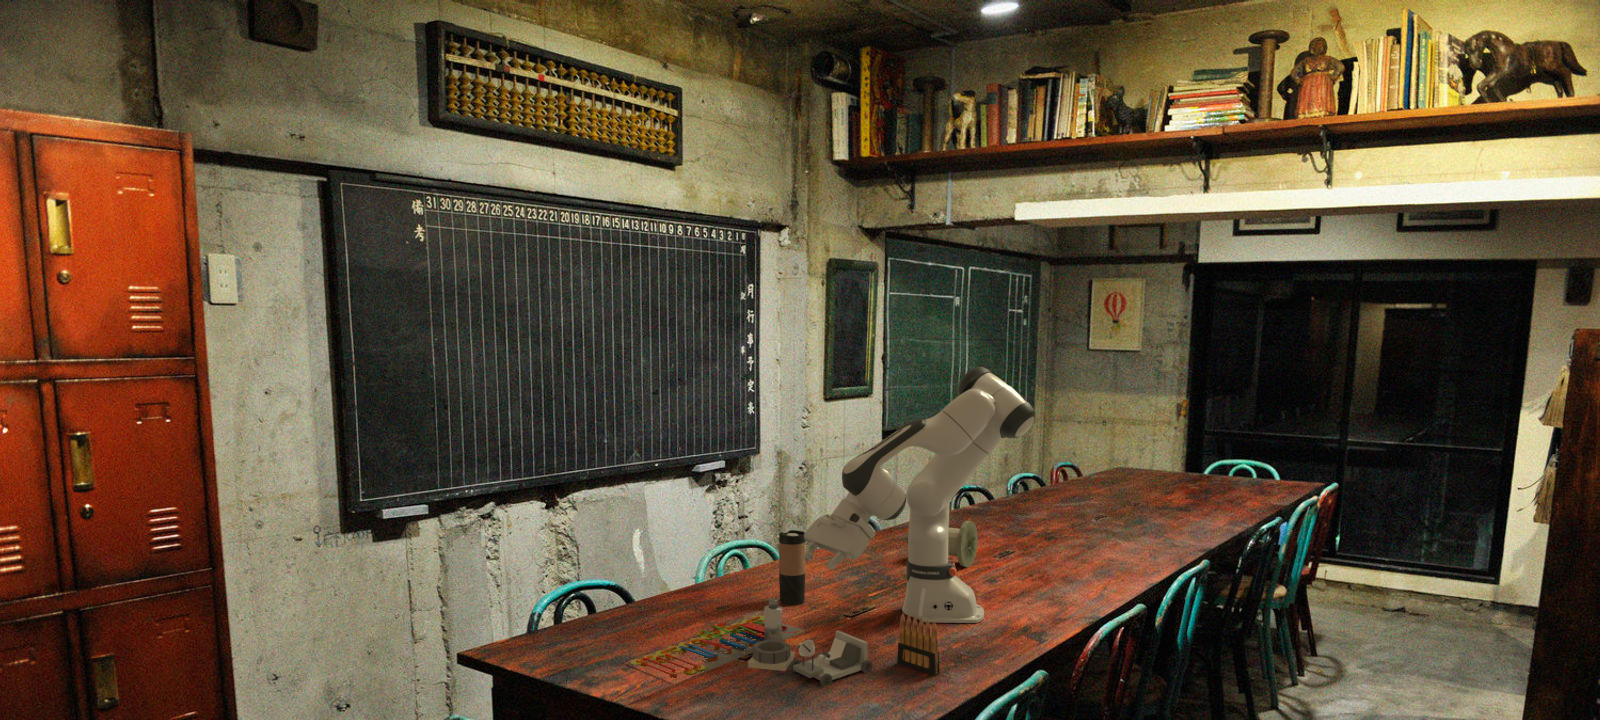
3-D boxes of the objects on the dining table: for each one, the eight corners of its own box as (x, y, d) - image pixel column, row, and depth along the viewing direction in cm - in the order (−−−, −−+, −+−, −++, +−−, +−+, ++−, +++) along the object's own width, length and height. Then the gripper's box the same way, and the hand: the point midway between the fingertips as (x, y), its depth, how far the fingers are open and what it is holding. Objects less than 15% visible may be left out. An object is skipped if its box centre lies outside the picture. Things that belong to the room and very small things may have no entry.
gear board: (753, 607, 232) (806, 623, 220) (753, 616, 233) (806, 633, 220) (620, 654, 198) (674, 676, 186) (620, 664, 199) (674, 687, 186)
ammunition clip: (896, 663, 198) (897, 613, 198) (901, 661, 199) (901, 611, 199) (935, 676, 191) (935, 623, 190) (939, 673, 192) (940, 621, 192)
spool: (977, 561, 288) (977, 517, 288) (961, 571, 275) (961, 526, 275) (932, 554, 297) (932, 512, 297) (914, 564, 284) (914, 520, 284)
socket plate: (794, 656, 202) (794, 641, 202) (785, 671, 193) (785, 655, 193) (758, 653, 204) (758, 638, 204) (747, 667, 195) (747, 651, 195)
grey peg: (784, 645, 210) (784, 597, 209) (779, 651, 205) (779, 602, 205) (767, 643, 211) (767, 596, 210) (762, 650, 206) (762, 601, 206)
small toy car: (813, 648, 182) (780, 633, 191) (812, 693, 183) (780, 676, 192) (873, 630, 194) (839, 617, 203) (872, 672, 194) (839, 657, 203)
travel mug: (802, 606, 239) (802, 536, 239) (776, 605, 241) (776, 535, 240) (807, 598, 247) (807, 530, 246) (782, 596, 248) (782, 529, 248)
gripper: (817, 505, 226) (787, 547, 220) (866, 520, 209) (834, 565, 204) (830, 520, 228) (800, 561, 223) (880, 535, 212) (849, 580, 206)
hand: (817, 563), depth 213 cm, fingers open, 8 cm apart
